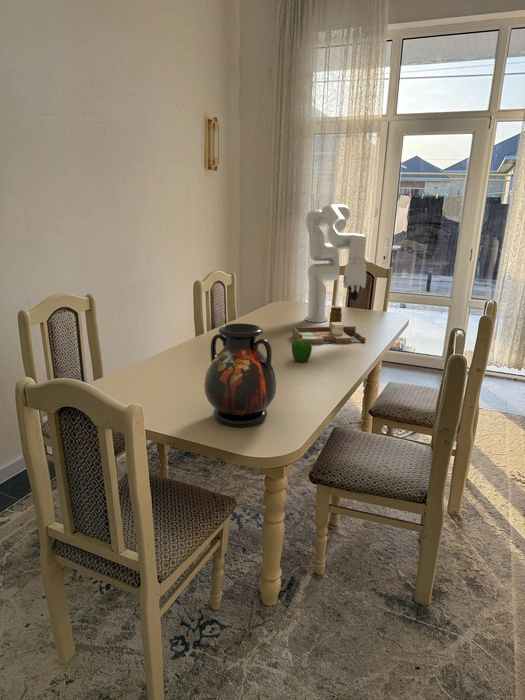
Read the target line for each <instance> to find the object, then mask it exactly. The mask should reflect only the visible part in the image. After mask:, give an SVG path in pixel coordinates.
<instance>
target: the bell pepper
mask: <svg viewBox="0 0 525 700" xmlns="http://www.w3.org/2000/svg"><path fill="white" fill-rule="evenodd" d="M312 347H313V346H312V344H310V343H309V342H308V341H306V342H303V340H302V339H301V338H300V339H299V341H296V340H295V341H292V344H291V353H292V357H293V360H294V361H295V362H296V363H305V362H308V361H309V360H310V357H311V355H312V352H313V351H312V350H313V348H312Z"/></svg>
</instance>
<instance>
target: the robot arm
mask: <svg viewBox="0 0 525 700" xmlns="http://www.w3.org/2000/svg"><path fill="white" fill-rule="evenodd" d="M350 215H351V211H350V208H349V207H348V206H347V205H345V204H326V205H324V206H323V208H322V209H314V210H310V211H309V212H308V213H307V215H306V218H305V224H306V229H307V233H308V238H309V239H308V241H309V256H310V259H311V260H312V261H314V262H321V263H313V264H311V265H310V266H308V270H307V276H308V304H307V305H308V306H307V316H305V317H304V319H305V321H306V320H307V322H311V323H324V322H327V321H328V317H326V302H327V300H326V299H327V287H326V285H325V284H324V283H323V282H328V281H331V282H333V281H336V280H338V279H339V277H340V273H341V272H340V271H341V270H340V253H339V252H340V251H339V250H348V258H347V260H348V261H347V263H346V264H345V268H344V274H343V281H342V282H343V288H345V289H348V290H349V292H350V293H349V296H350V299H351V300H352V301H357V299H358V294H359V292H360V290H361V289H365V288H366V284H367V267H366V262H368V258H366V243H367V237H366V235H365V234H361V233H357V232H342V231H344V230H345V228H346V227H347V222H348V220H349V218H350V217H351V216H350ZM321 227H328V230H327V239H328V242H329V243H328V242H327V243H326V235H325V232H324V231H323V230H322V228H321ZM322 262H326V263H322ZM327 262H328V263H327Z"/></svg>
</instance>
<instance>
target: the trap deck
mask: <svg viewBox="0 0 525 700" xmlns="http://www.w3.org/2000/svg"><path fill="white" fill-rule="evenodd" d="M356 329H357V326H354V325H349V326H348V325H347V326H345V325H344V328H343V335H333V334H331V333H330V327H329V326H310V327H309V326H306V327H304V326H303V327H300V326H298V327H292V338H293V339H294V338H295V339H294V340H295V342H296V341H299V339H300V338H301V339H302V340H303V342H306V341H308V342H309V343H310V344H311V345H332V344H333V343H340V344H360V343H359V342H365V343H366V341H367V340H366V336H364V334H363V335H362V334H361V333H360V332H359V331H357V330H356ZM333 345H334V344H333Z"/></svg>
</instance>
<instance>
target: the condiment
mask: <svg viewBox="0 0 525 700" xmlns="http://www.w3.org/2000/svg"><path fill="white" fill-rule="evenodd" d="M342 314H343V313H342V307H340V306H332V307H331V309H330V312H329V324H328V327H330V325H331V322H341V323H342V317H343V315H342Z"/></svg>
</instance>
